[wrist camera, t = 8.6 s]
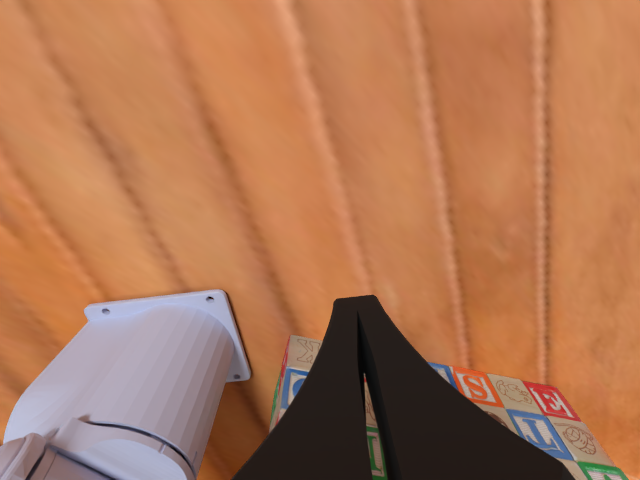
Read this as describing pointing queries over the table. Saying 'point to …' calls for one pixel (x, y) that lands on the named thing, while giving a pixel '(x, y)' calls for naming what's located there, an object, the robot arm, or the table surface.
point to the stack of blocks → (492, 397)
